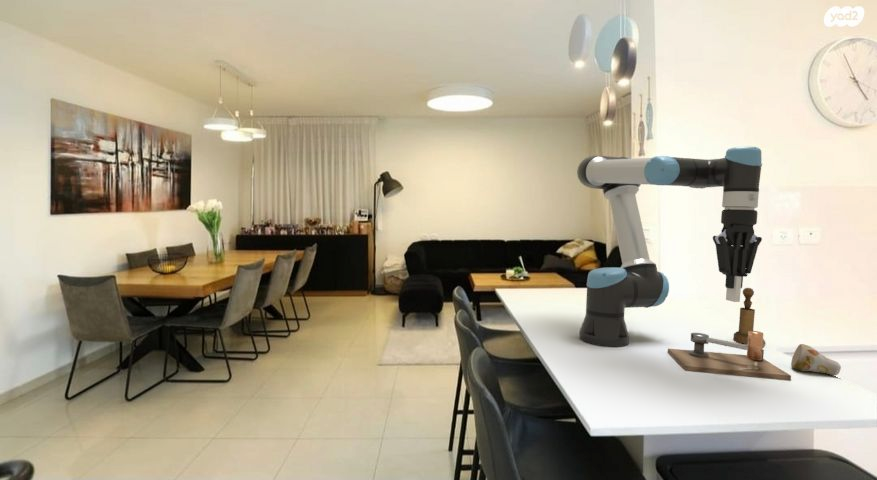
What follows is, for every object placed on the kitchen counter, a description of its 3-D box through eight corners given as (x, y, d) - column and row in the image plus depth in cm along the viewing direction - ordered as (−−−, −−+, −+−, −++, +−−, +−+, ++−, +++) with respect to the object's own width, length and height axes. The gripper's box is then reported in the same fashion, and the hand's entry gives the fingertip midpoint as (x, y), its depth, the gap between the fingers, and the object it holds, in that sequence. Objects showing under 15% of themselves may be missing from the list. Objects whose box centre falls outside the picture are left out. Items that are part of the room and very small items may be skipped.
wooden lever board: (685, 370, 114) (686, 341, 114) (667, 352, 130) (669, 326, 129) (790, 380, 109) (792, 349, 108) (759, 360, 124) (760, 333, 124)
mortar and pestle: (761, 345, 140) (765, 290, 139) (739, 344, 141) (742, 289, 140) (751, 340, 146) (754, 287, 145) (729, 338, 148) (732, 286, 147)
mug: (847, 382, 109) (826, 346, 110) (801, 388, 116) (782, 355, 116) (843, 367, 115) (824, 334, 116) (800, 374, 121) (781, 342, 122)
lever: (688, 346, 124) (689, 322, 124) (693, 343, 127) (694, 320, 127) (759, 361, 112) (761, 334, 112) (763, 358, 115) (765, 332, 114)
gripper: (730, 208, 105) (723, 304, 107) (774, 209, 108) (767, 303, 110) (705, 208, 113) (699, 298, 114) (747, 209, 115) (740, 297, 117)
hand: (732, 300), depth 112 cm, fingers closed
